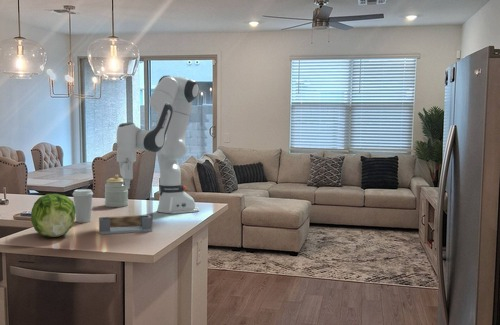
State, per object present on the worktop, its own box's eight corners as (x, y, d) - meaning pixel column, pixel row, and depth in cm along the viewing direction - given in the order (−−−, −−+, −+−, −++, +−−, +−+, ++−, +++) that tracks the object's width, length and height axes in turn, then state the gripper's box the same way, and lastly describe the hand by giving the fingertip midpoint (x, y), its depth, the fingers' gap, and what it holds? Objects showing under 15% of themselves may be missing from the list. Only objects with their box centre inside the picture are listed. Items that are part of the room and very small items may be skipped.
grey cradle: (149, 227, 229) (149, 214, 229) (152, 231, 223) (152, 217, 222) (99, 230, 222) (99, 217, 221) (100, 234, 215) (99, 220, 215)
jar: (133, 205, 289) (133, 174, 287) (116, 208, 278) (115, 176, 276) (117, 202, 296) (117, 172, 294) (99, 205, 285) (99, 174, 283)
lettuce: (28, 224, 195) (69, 195, 201) (16, 205, 213) (55, 179, 219) (54, 256, 204) (93, 227, 210) (41, 235, 222) (77, 209, 229)
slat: (146, 223, 240) (145, 215, 240) (146, 224, 238) (146, 216, 237) (106, 225, 235) (106, 217, 234) (107, 226, 232) (107, 218, 232)
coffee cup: (74, 224, 235) (73, 192, 234) (71, 220, 244) (70, 189, 243) (95, 222, 240) (95, 191, 239) (91, 218, 248) (91, 188, 247)
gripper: (136, 159, 225) (136, 190, 226) (130, 156, 244) (130, 184, 245) (121, 159, 223) (121, 190, 224) (117, 156, 242) (117, 184, 243)
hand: (126, 187), depth 235 cm, fingers open, 8 cm apart
